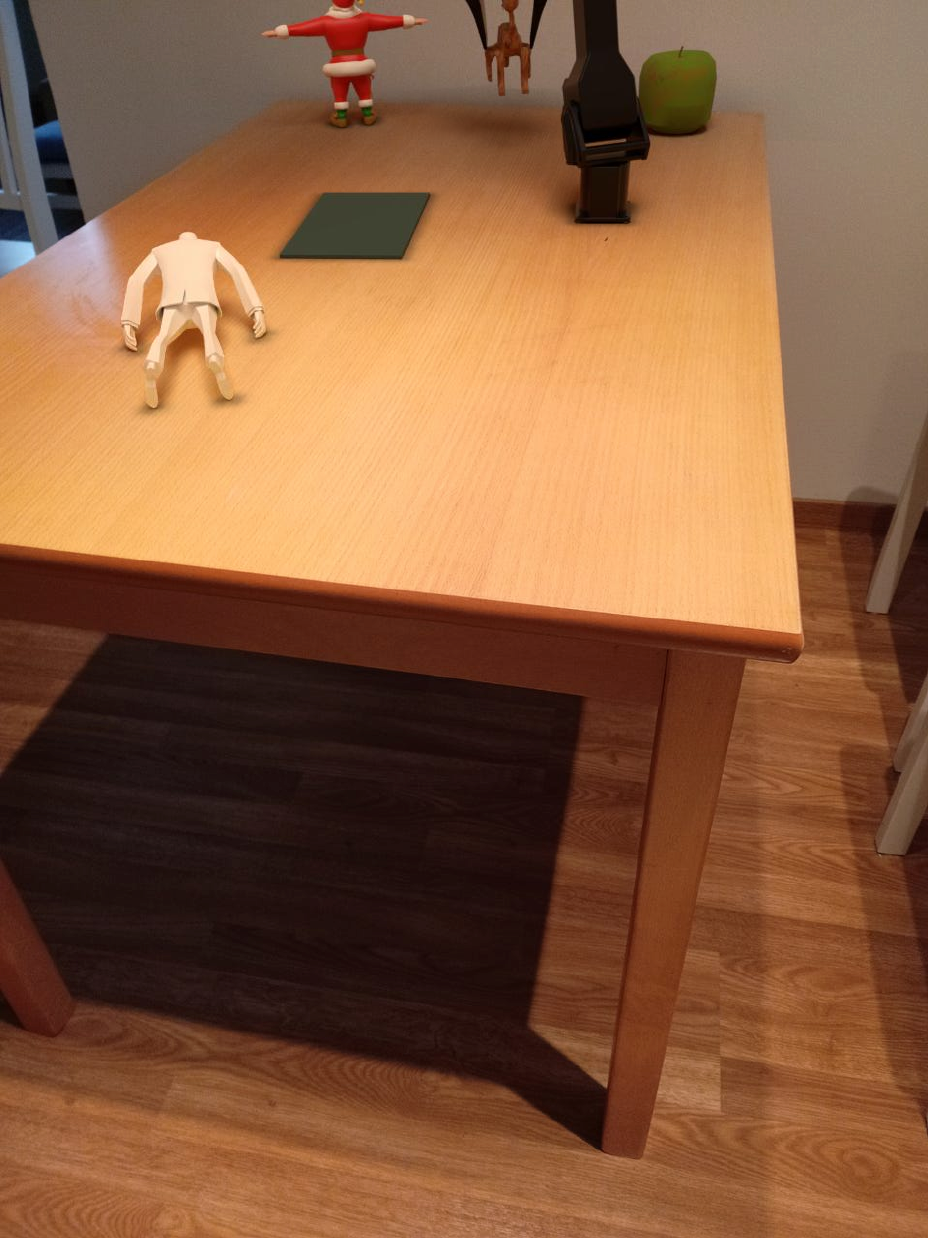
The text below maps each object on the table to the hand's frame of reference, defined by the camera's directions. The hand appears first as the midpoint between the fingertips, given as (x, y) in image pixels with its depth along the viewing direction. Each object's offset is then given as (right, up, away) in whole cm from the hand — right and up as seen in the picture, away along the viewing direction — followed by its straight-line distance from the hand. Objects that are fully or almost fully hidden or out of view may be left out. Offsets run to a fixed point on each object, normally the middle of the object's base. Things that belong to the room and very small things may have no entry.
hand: (508, 48), depth 136 cm
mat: (-19, -32, -18) cm, 41 cm away
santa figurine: (-23, -1, +18) cm, 30 cm away
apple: (+25, -6, +10) cm, 28 cm away
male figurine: (-32, -53, -42) cm, 75 cm away
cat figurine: (0, -3, +3) cm, 5 cm away
